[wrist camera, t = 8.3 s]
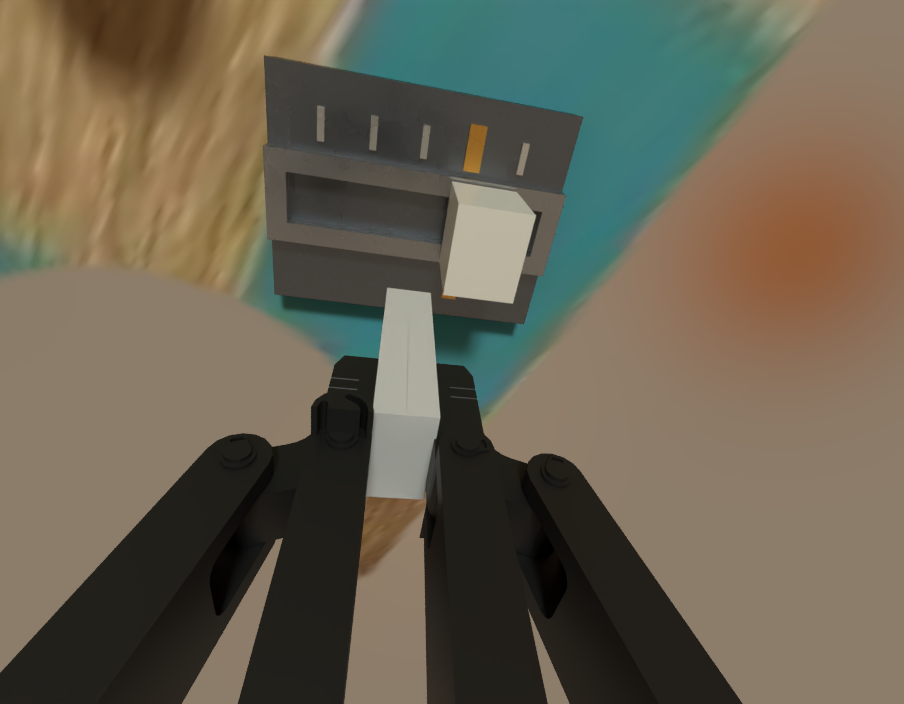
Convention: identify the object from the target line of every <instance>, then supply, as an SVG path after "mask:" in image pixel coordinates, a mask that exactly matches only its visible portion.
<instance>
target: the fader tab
mask: <svg viewBox="0 0 904 704" xmlns="http://www.w3.org/2000/svg"><path fill="white" fill-rule="evenodd" d="M535 218H536V215H535V214H534V213H533V211H532V210H531V209H530V208H529V206H528V205H527V204H526V203H525V201H524V200H523V199H522V198H521V196H520V195H519V194H518V193H517V192H514V191H508V190H502V189H496V188H489V187H483V186H477V185H471V184H465V183H459V182H453V181H452V184H451V191H450V197H449V203H448V209H447V216H446V222H445V228H444V235H443V241H442V247H441V253H440V260H439V263H440V272H441V281H442V289H443V295H448V296H456V297H464V298H472V299H479V300H487V301H495V302H503V303H511V304H513V301H514V297H515V294H516V290H517V286H518V282H519V278H520V275H521V271H522V267H523V263H524V259H525V256H526V252H527V248H528V244H529V241H530V237H531V233H532V229H533V225H534V222H535Z"/></svg>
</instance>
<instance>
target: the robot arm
mask: <svg viewBox="0 0 904 704" xmlns="http://www.w3.org/2000/svg"><path fill="white" fill-rule="evenodd" d="M425 492H426V501H427V504H426V509H425V514H424V519H423V524H422V529H421V533H420V538H424V563H425V615H426V666H427V704H548V703H547V698H546V694H545V689H544V684H543V679H542V674H541V669H540V665H539V660H538V655H537V651H536V646H535V641H534V636H533V631H532V627H531V622H530V617H529V612H530V614H531V616H532V618H533V621H534V623H535V625H536V628H537V630H538V632H539V634H540V637H541V639H542V641H543V643H544V646H545V648H546V650H547V653H548V655H549V657H550V660H551V662H552V664H553V666H554V669H555V671H556V673H557V676H558V678H559V680H560V682H561V685H562V687H563V689H564V692H565V694H566V696H567V698H568V701H569V703H570V704H742V702H741V701H740V699H739V698H738V696H737V695H736V694H735V692H734V691H733V689H732V688H731V687H730V685H729V684H728V682H727V681H726V679H725V678H724V676H723V675H722V674H721V672H720V671H719V669H718V668H717V666H716V665H715V664H714V662H713V661H712V659H711V658H710V656H709V655H708V654H707V652H706V651H705V649H704V648H703V646H702V645H701V644H700V642H699V641H698V639H697V638H696V636H695V635H694V634H693V632H692V631H691V629H690V628H689V626H688V625H687V623H686V622H685V621H684V619H683V618H682V616H681V615H680V613H679V612H678V611H677V609H676V608H675V606H674V605H673V603H672V602H671V601H670V599H669V598H668V596H667V595H666V593H665V592H664V591H663V589H662V588H661V586H660V585H659V583H658V582H657V580H656V579H655V578H654V576H653V575H652V573H651V572H650V570H649V569H648V568H647V566H646V565H645V563H644V562H643V560H642V559H641V558H640V556H639V555H638V553H637V552H636V550H635V549H634V548H633V546H632V545H631V543H630V542H629V540H628V539H627V537H626V536H625V535H624V533H623V532H622V530H621V529H620V527H619V526H618V525H617V523H616V522H615V520H614V519H613V518H612V516H611V515H610V513H609V512H608V511H607V509H606V507H605V506H604V505H603V503H602V502H601V501H600V499H599V497H598V496H597V495H596V493H595V492H594V490H593V489H592V487H591V486H590V485H589V483H588V482H587V480H586V479H585V478H584V476H583V475H582V473H581V472H580V470H579V469H578V468H577V467H576V466H575V465H574V464H573V463H571V462H570V461H568V460H567V459H565V458H563V457H560V456H557V455H554V454H539V455H536V456H534V457H532V459H531V460H530V461H529V462H528V464H527V463H524V462H521V461H518V460H514V459H511V458H509V457H506V456H504V455H502V454H500V453H499V452H497V451H496V450H495V449H494V447H493V444H492V442H491V441H490V440H489V439H488V438H487V437H486V436H485V435H484V433H483V427H482V422H481V417H480V412H479V407H478V401H477V396H476V391H475V386H474V380H473V376H472V375H471V374H470V373H469V371H468V370H467V369H466V368H465V367H464V366H459V365H448V364H438V363H436V355H435V342H434V329H433V316H432V303H431V293H427V292H419V291H411V290H403V289H395V288H387V294H386V302H385V311H384V319H383V328H382V336H381V345H380V353H379V359H376V358H366V357H356V356H344V357H342V358H341V359H340V360H339V361H338V362H337V363H336V364H335V365H334V369H333V373H332V378H331V381H330V384H329V388H328V392H327V393H326V394H323V395H322V396H320V397H319V398H317V399H316V400H315V402H314V403H313V405H312V406H311V435H309V436H308V437H306V438H305V439H303V440H300V441H298V442H295V443H291V444H287V445H281V446H275V447H272V446H271V445H270V444H269V442H268V441H267V440H266V439H264V438H262V437H260V436H257V435H254V434H243V433H242V434H236V435H230V436H227V437H225V438H222V439H220V440H218V441H216V442H215V443H213V444H212V445H211V446H210V447H208V448H207V449H206V450H205V451H204V453H203V454H202V455H201V456H200V457H199V458H198V459H197V460H196V461H195V462H194V463H193V464H192V466H190V468H189V469H188V470H187V471H186V472H185V473H184V474H183V475H182V476H181V477H180V478H179V480H178V481H177V482H176V483H175V484H174V485H173V486H172V487H171V488H170V489H169V490H168V491H167V493H166V494H165V495H164V496H163V497H162V498H161V499H160V500H159V501H158V502H157V503H156V505H155V506H154V507H153V508H152V509H151V510H150V511H149V512H148V513H147V514H146V515H145V517H144V518H143V519H142V520H141V521H140V522H139V523H138V524H137V525H136V526H135V527H134V528H133V529H132V531H131V532H130V533H129V534H128V535H127V536H126V537H125V538H124V539H123V540H122V541H121V543H120V544H119V545H118V546H117V547H116V548H115V549H114V550H113V551H112V552H111V553H110V554H109V555H108V557H107V558H106V559H105V560H104V561H103V562H102V563H101V564H100V565H99V566H98V567H97V568H96V570H95V571H94V572H93V573H92V574H91V575H90V576H89V577H88V578H87V579H86V580H85V581H84V583H83V584H82V585H81V586H80V587H79V588H78V589H77V590H76V591H75V592H74V593H73V595H72V596H71V597H70V598H69V599H68V600H67V601H66V602H65V603H64V604H63V605H62V607H61V608H60V609H59V610H58V611H57V612H56V613H55V614H54V615H53V616H52V617H51V618H50V620H49V621H48V622H47V623H46V624H45V625H44V626H43V627H42V628H41V629H40V630H39V631H38V632H37V634H36V635H35V636H34V637H33V638H32V639H31V640H30V641H29V642H28V643H27V645H26V646H25V647H24V648H23V649H22V650H21V651H20V652H19V653H18V654H17V655H16V656H15V658H14V659H13V660H12V661H11V662H10V663H9V664H8V665H7V666H6V667H5V668H4V669H3V671H2V672H1V673H0V704H182V702H183V700H184V699H185V697H186V695H187V693H188V692H189V690H190V688H191V686H192V685H193V683H194V681H195V680H196V678H197V676H198V674H199V673H200V671H201V669H202V667H203V666H204V664H205V662H206V661H207V659H208V657H209V656H210V654H211V652H212V650H213V649H214V647H215V645H216V643H217V642H218V640H219V638H220V636H221V635H222V633H223V631H224V630H225V628H226V626H227V624H228V623H229V621H230V619H231V617H232V616H233V614H234V612H235V610H236V609H237V607H238V605H239V603H240V602H241V600H242V598H243V597H244V595H245V593H246V592H247V590H248V588H249V586H250V585H251V583H252V581H253V580H254V578H255V576H256V574H257V573H258V571H259V569H260V567H261V566H262V564H263V562H264V561H265V559H266V557H267V555H268V554H269V552H270V550H271V548H272V547H273V545H274V543H275V540H276V539H280V538H283V540H282V544H281V548H280V551H279V555H278V559H277V562H276V566H275V570H274V573H273V577H272V581H271V584H270V588H269V592H268V595H267V599H266V603H265V606H264V610H263V613H262V617H261V621H260V624H259V628H258V632H257V635H256V639H255V643H254V646H253V650H252V654H251V657H250V661H249V665H248V668H247V672H246V676H245V680H244V683H243V687H242V690H241V694H240V698H239V701H238V704H344V698H345V689H346V680H347V671H348V660H349V652H350V642H351V633H352V623H353V614H354V605H355V596H356V586H357V577H358V568H359V558H360V549H361V539H362V530H363V521H364V511H365V501H366V497H384V498H403V499H422V500H424V497H425ZM528 609H529V612H528Z"/></svg>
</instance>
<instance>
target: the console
mask: <svg viewBox="0 0 904 704" xmlns="http://www.w3.org/2000/svg"><path fill="white" fill-rule="evenodd" d="M264 66H265V89H266V111H267V134H268V143H267V144H265V145H263V158H264V178H265V198H266V219H267V239H272V247H273V270H274V293H275V294H276V295H284V296H293V297H301V298H309V299H318V300H326V301H334V302H343V303H351V304H359V305H368V306H376V307H385V302H386V294H387V288H395V289H403V290H411V291H419V292H427V293H431V303H432V313H435V314H443V315H451V316H460V317H468V318H477V319H485V320H493V321H502V322H510V323H518V324H524V322H525V319H526V315H527V312H528V308H529V305H530V301H531V298H532V294H533V291H534V287H535V284H536V280H537V277H538V276H543V273H544V270H545V266H546V263H547V259H548V256H549V253H550V249H551V246H552V242H553V239H554V235H555V232H556V229H557V225H558V222H559V218H560V215H561V211H562V208H563V205H564V201H565V198H566V195H565V194H564V193H562V189H563V186H564V182H565V179H566V175H567V172H568V168H569V165H570V161H571V158H572V154H573V151H574V147H575V144H576V140H577V137H578V133H579V130H580V126H581V123H582V119H583V117H581V116H578V115H574V114H570V113H564V112H559V111H554V110H549V109H544V108H538V107H533V106H528V105H523V104H518V103H513V102H507V101H502V100H497V99H492V98H487V97H481V96H476V95H471V94H466V93H461V92H455V91H450V90H445V89H440V88H435V87H429V86H424V85H419V84H414V83H409V82H403V81H398V80H393V79H388V78H383V77H378V76H372V75H367V74H362V73H357V72H352V71H346V70H341V69H336V68H331V67H326V66H320V65H315V64H310V63H305V62H300V61H294V60H289V59H284V58H279V57H273V56H264ZM452 181H453V182H459V183H465V184H471V185H477V186H483V187H489V188H496V189H502V190H508V191H514V192H517V193H518V194H519V195H520V196H521V198H522V199H523V200H524V201H525V203H526V204H527V205H528V206H529V208H530V209H531V210H532V211H533V213H534V214H535V215H536V218H535V222H534V225H533V229H532V233H531V237H530V241H529V244H528V248H527V252H526V256H525V259H524V263H523V267H522V271H521V275H520V278H519V282H518V286H517V290H516V294H515V297H514V301H513V304H511V303H503V302H495V301H487V300H479V299H472V298H464V297H456V296H448V295H443V289H442V281H441V272H440V263H439V260H440V253H441V247H442V241H443V235H444V228H445V222H446V216H447V209H448V203H449V197H450V191H451V184H452Z"/></svg>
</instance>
